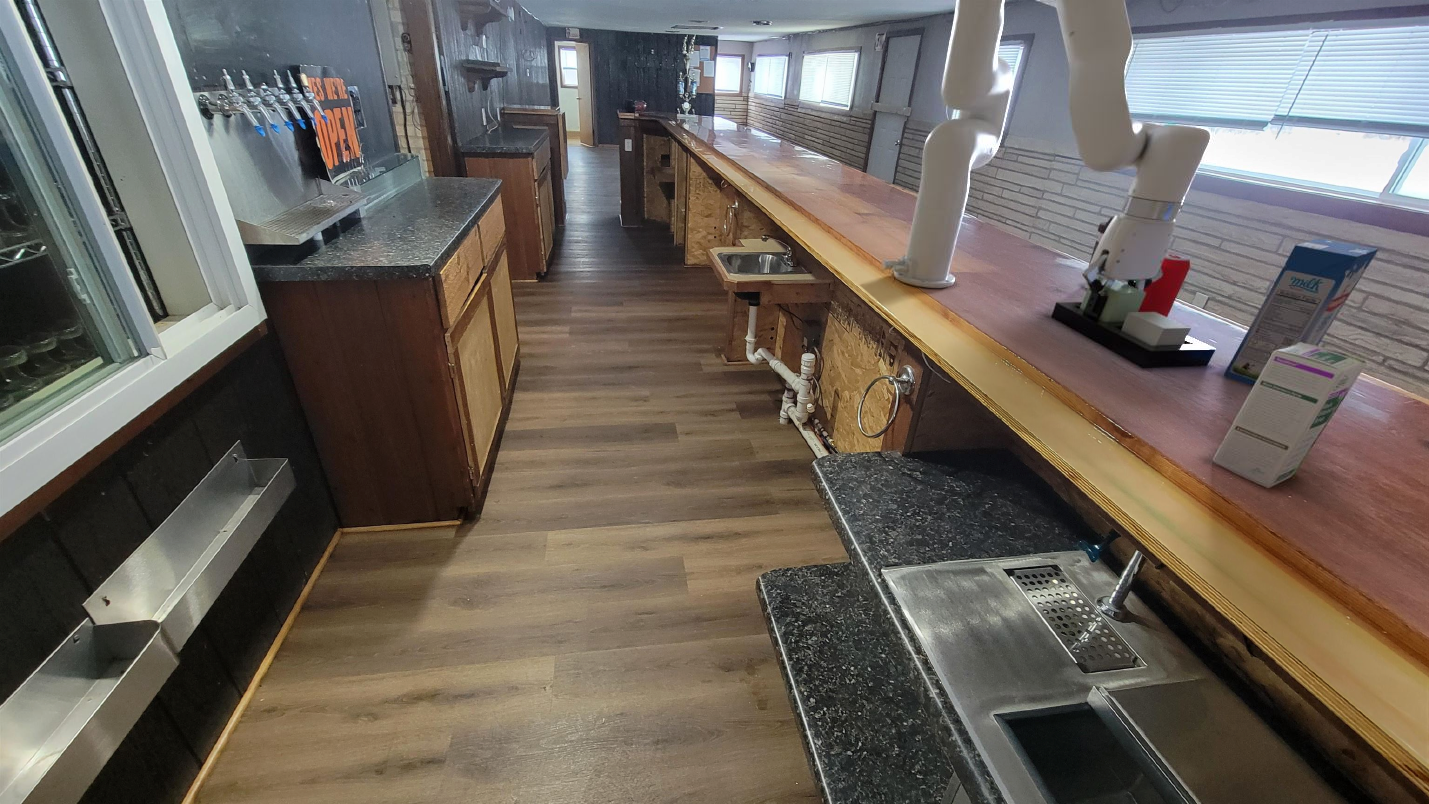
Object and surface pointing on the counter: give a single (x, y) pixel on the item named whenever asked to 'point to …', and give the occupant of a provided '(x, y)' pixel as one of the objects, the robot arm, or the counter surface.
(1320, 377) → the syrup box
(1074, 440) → the counter surface
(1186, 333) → the light grey block
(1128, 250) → the robot arm
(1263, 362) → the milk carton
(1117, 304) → the pale green block
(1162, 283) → the beverage can
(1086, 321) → the frame
